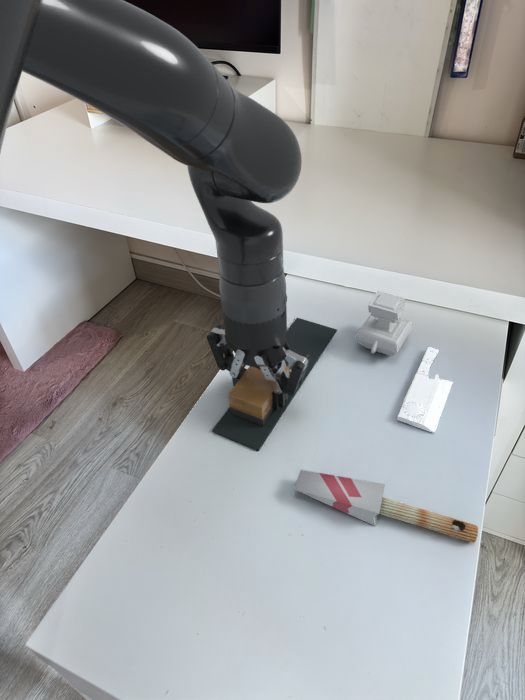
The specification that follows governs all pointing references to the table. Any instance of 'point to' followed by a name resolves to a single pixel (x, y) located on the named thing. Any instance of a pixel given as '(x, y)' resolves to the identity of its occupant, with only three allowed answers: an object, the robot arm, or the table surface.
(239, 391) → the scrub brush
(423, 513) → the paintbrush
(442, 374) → the table surface
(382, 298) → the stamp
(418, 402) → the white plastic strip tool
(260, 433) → the mat
